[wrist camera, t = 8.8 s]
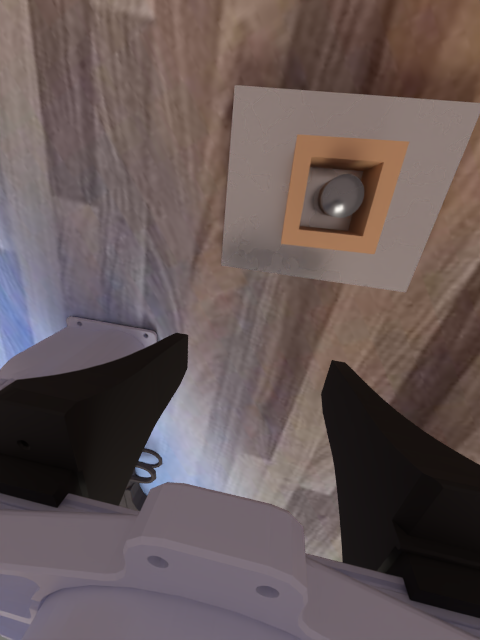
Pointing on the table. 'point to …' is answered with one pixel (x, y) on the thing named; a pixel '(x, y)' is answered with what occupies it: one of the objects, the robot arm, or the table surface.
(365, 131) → the plate
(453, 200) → the table surface
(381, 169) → the ring
